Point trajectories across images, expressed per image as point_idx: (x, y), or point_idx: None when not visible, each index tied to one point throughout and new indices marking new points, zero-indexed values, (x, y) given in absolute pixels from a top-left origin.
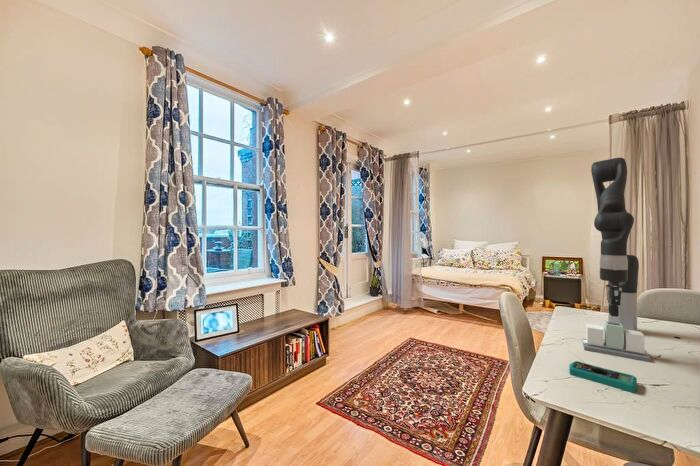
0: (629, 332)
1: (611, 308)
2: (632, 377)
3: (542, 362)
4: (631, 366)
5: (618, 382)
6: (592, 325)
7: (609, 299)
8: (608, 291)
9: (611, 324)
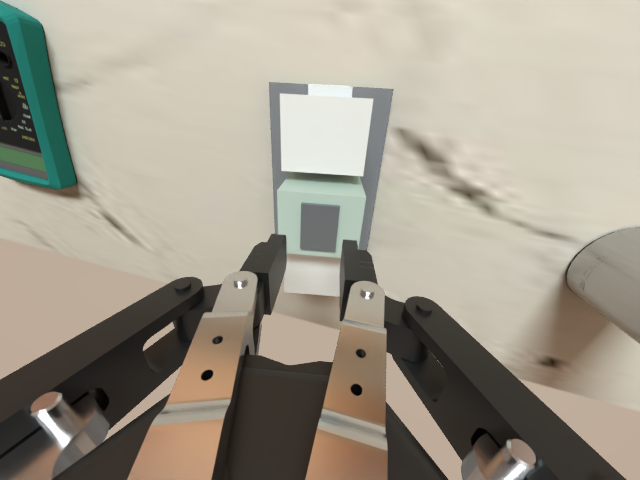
0: (305, 260)
1: (258, 264)
2: (35, 179)
3: None
4: (205, 203)
5: None
6: (347, 129)
7: (347, 312)
8: (172, 399)
9: (299, 215)
